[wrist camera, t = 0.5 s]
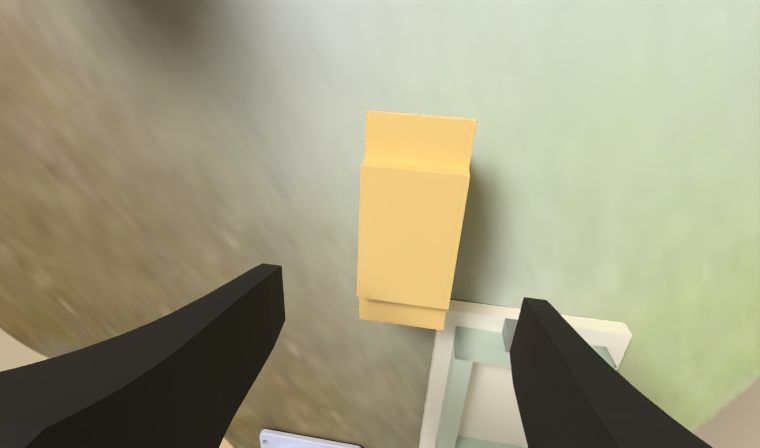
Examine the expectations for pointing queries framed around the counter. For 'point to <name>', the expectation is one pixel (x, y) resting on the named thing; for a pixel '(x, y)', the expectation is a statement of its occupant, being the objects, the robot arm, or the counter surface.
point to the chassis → (490, 375)
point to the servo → (411, 215)
